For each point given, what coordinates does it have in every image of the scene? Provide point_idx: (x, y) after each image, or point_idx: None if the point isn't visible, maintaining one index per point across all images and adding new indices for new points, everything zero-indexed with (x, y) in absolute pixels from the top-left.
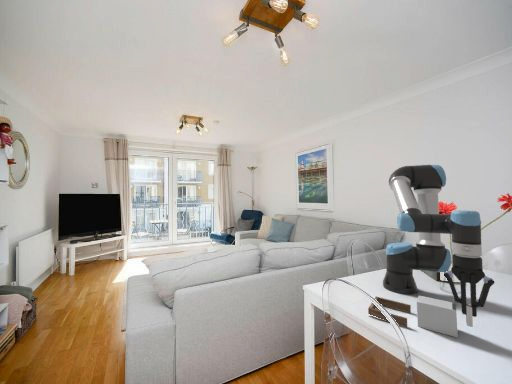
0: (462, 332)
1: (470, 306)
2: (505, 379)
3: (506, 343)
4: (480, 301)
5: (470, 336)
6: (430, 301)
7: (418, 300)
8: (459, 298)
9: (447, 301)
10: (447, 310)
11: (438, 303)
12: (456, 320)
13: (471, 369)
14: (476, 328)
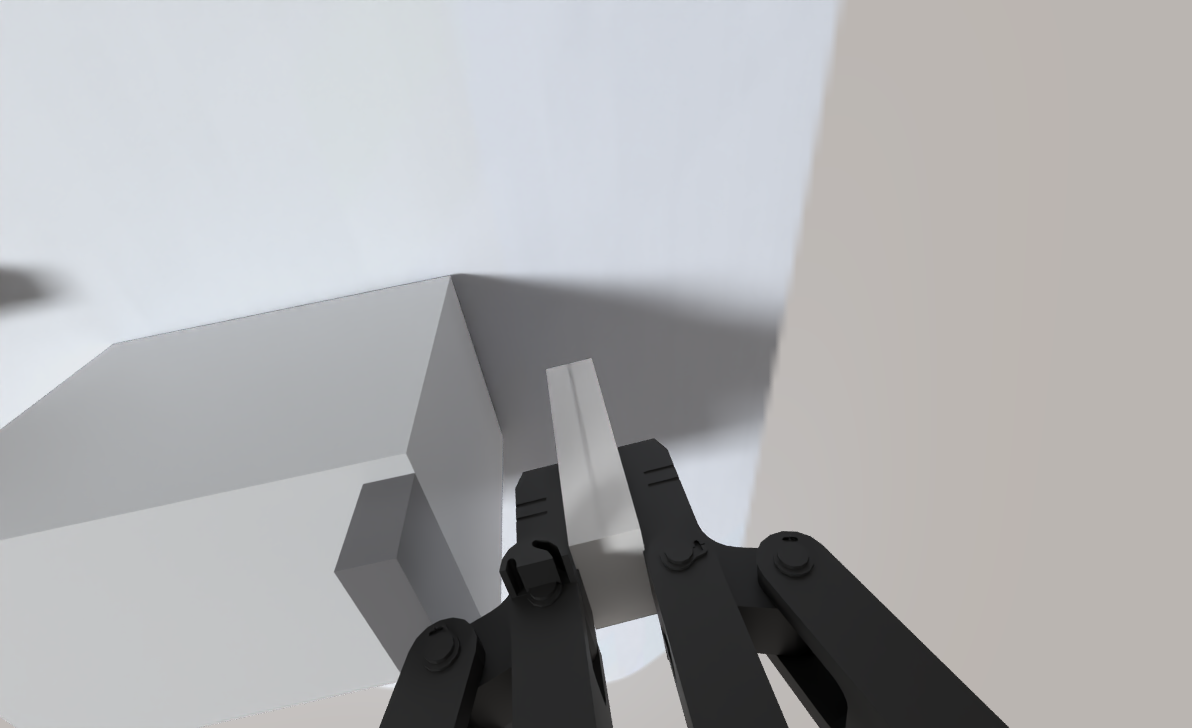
0: (504, 302)
1: (639, 594)
2: None
3: (796, 210)
4: (812, 709)
5: (566, 323)
6: (142, 650)
7: (32, 723)
8: (501, 696)
9: (286, 482)
10: None
11: (255, 633)
12: (498, 553)
13: (614, 641)
14: (586, 72)
